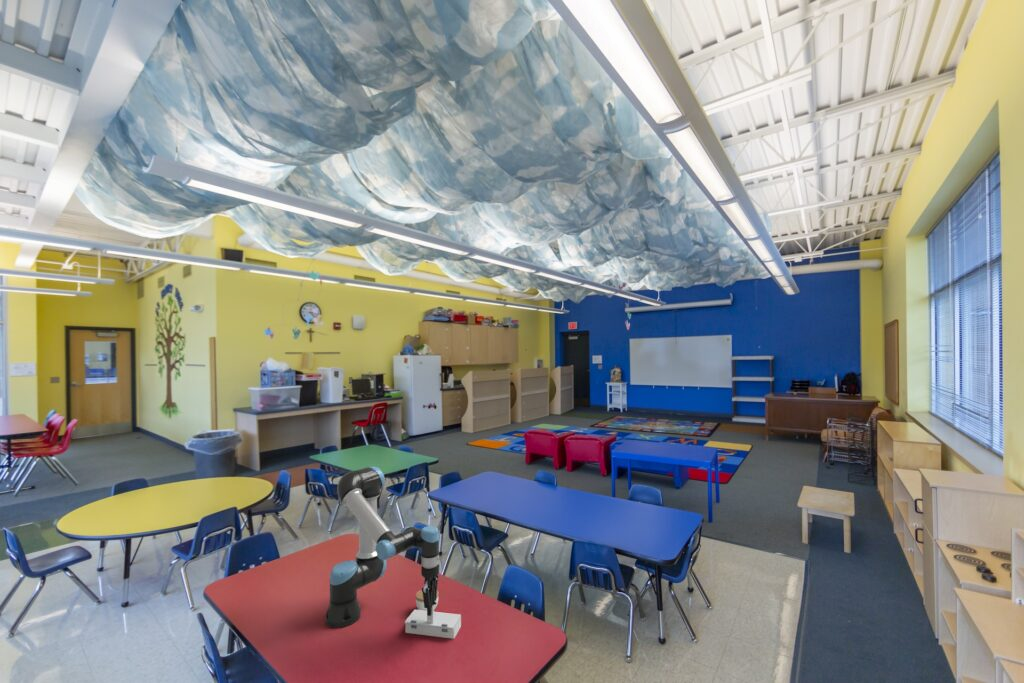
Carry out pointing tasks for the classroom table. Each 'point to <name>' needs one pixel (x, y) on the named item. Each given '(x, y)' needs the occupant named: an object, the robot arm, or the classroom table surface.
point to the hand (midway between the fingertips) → (430, 621)
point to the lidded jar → (421, 602)
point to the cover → (439, 619)
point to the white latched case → (434, 630)
